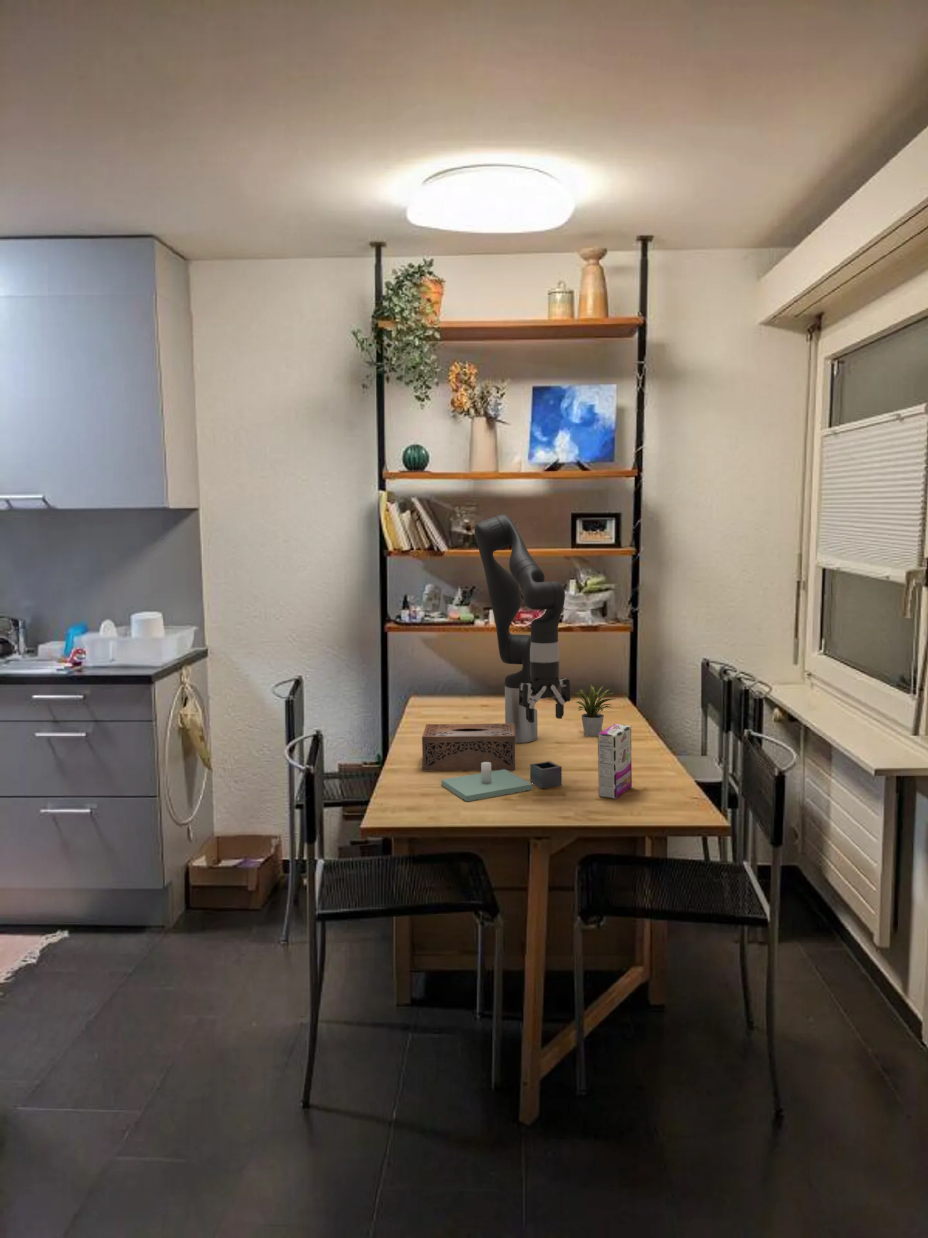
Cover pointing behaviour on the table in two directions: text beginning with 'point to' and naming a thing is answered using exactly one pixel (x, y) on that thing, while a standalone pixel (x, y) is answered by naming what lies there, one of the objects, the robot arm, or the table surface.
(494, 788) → the post board
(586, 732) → the house plant
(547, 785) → the open box
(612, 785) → the candy bar box
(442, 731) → the tissue box cover
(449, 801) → the table surface
